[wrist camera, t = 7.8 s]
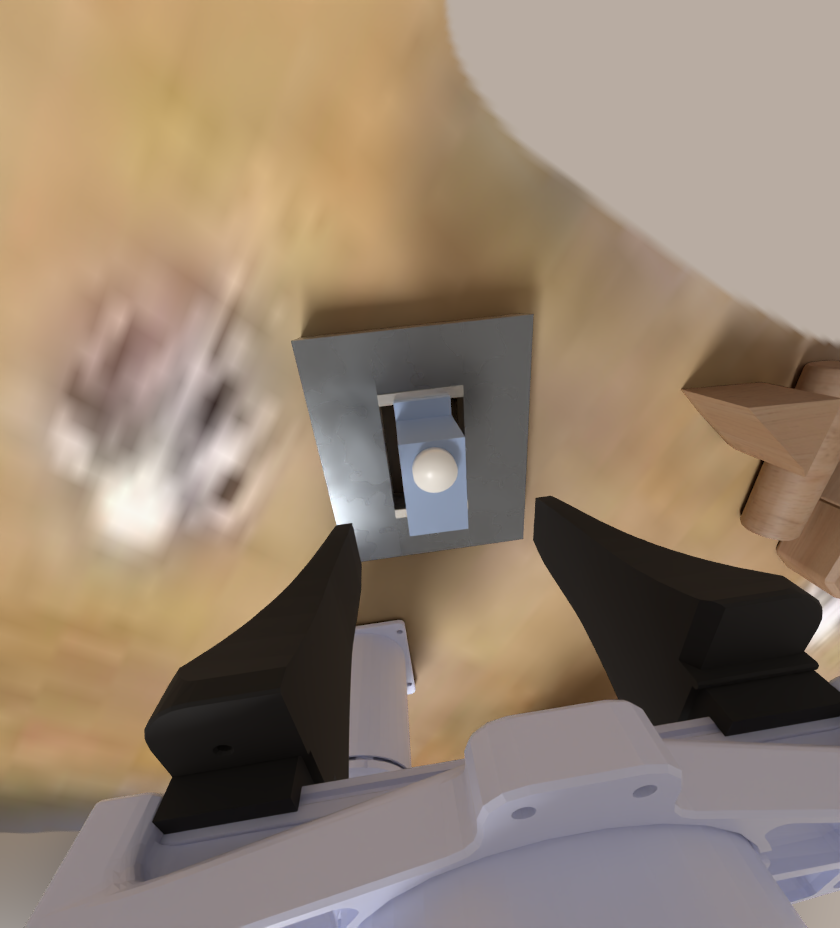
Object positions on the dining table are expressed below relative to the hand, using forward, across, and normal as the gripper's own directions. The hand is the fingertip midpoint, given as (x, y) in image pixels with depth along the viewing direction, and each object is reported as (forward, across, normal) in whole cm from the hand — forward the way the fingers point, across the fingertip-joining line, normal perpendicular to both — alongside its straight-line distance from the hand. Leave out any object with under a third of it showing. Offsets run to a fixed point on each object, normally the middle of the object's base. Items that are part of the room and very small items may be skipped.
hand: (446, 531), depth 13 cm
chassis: (+9, 0, 0) cm, 9 cm away
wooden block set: (+10, -25, +7) cm, 28 cm away
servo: (+9, 0, 0) cm, 9 cm away
